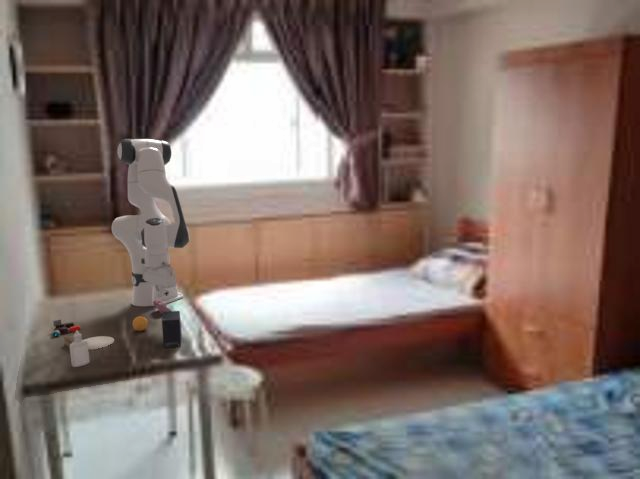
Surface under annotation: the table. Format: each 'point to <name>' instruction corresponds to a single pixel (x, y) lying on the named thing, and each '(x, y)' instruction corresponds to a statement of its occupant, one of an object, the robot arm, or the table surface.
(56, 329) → the toy gun
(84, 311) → the table surface
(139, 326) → the ball
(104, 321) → the table surface
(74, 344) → the eye dropper bottle
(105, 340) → the white flat disc
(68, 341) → the rail
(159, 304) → the video game controller
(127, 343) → the table surface
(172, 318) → the small box
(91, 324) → the table surface
